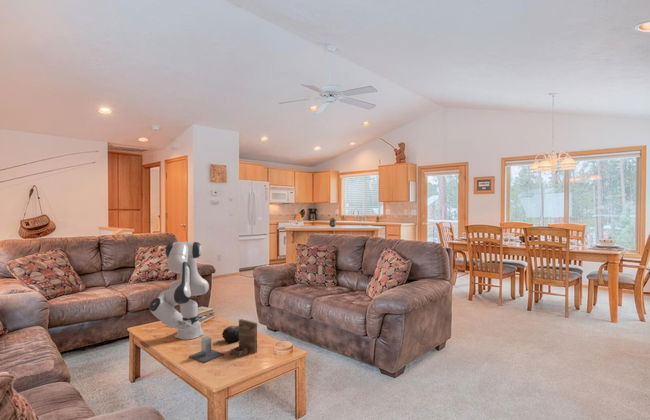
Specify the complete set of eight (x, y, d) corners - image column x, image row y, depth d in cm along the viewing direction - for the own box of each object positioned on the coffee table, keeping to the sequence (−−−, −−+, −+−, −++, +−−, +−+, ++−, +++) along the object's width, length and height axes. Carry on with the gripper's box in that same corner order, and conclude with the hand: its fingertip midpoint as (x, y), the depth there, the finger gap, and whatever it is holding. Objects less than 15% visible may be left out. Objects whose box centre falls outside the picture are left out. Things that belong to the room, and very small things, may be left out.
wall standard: (242, 358, 214) (242, 328, 214) (226, 353, 222) (226, 323, 222) (257, 352, 224) (257, 323, 224) (241, 347, 232) (241, 319, 232)
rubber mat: (189, 357, 216) (189, 355, 216) (208, 349, 228) (208, 348, 228) (204, 363, 208) (204, 361, 208) (223, 354, 220) (223, 353, 220)
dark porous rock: (250, 337, 250) (250, 322, 250) (230, 345, 235) (230, 330, 235) (239, 334, 255) (239, 320, 255) (219, 342, 240) (219, 327, 240)
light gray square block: (205, 356, 215) (205, 339, 215) (201, 355, 218) (201, 338, 218) (211, 354, 219) (211, 337, 219) (207, 352, 221) (206, 336, 221)
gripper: (189, 317, 196) (204, 330, 204) (167, 311, 208) (182, 324, 216) (181, 328, 192) (197, 341, 201) (159, 321, 204) (175, 333, 212)
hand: (189, 332), depth 208 cm, fingers open, 8 cm apart
